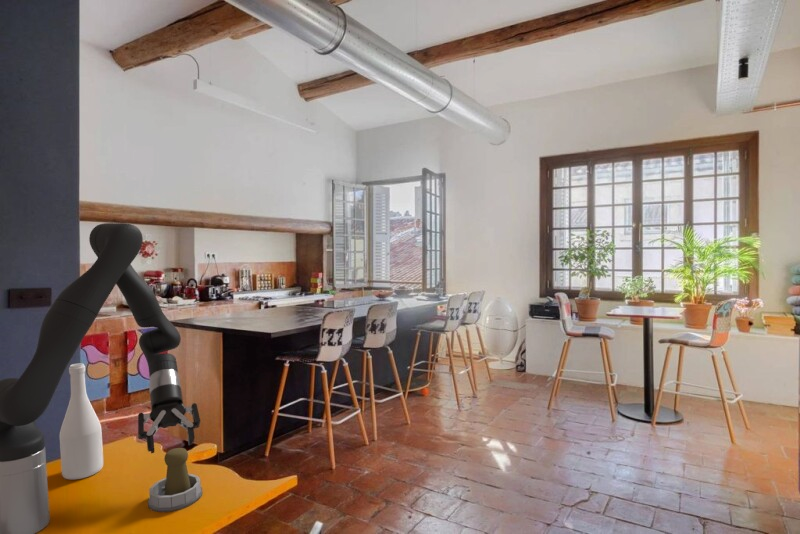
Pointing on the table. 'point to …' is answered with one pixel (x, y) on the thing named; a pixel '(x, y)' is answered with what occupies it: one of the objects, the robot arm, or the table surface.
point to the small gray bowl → (174, 496)
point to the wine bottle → (80, 432)
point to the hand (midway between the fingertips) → (172, 447)
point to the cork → (176, 471)
